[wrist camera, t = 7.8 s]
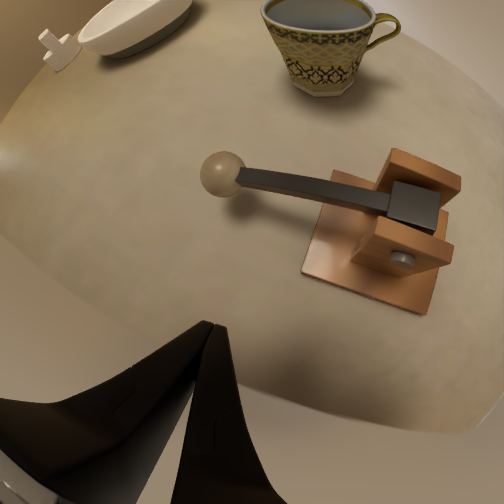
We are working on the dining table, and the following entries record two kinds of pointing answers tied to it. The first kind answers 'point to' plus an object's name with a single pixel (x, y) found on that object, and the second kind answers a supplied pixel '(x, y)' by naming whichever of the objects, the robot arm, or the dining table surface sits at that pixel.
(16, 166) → the dining table surface
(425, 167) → the bracket
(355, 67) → the ceramic cup
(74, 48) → the cylinder with rectangular tab
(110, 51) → the bowl
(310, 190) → the lever
